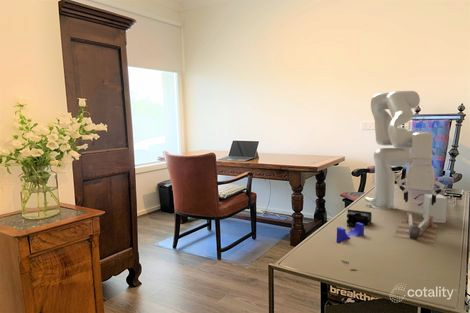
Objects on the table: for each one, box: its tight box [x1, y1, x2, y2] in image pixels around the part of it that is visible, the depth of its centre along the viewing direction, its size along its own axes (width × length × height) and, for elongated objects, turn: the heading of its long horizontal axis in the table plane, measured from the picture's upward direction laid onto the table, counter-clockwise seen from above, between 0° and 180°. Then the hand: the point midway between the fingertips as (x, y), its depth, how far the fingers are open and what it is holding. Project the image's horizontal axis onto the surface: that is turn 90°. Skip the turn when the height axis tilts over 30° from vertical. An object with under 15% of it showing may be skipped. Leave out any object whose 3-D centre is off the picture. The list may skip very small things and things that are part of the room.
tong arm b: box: [418, 215, 434, 236], centre depth 140 cm, size 19×2×4 cm, turn 138°
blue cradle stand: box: [336, 222, 365, 244], centre depth 136 cm, size 12×4×6 cm, turn 118°
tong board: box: [393, 218, 439, 244], centre depth 140 cm, size 24×14×6 cm, turn 146°
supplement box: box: [422, 193, 448, 223], centre depth 153 cm, size 7×7×13 cm
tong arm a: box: [406, 212, 413, 234], centre depth 143 cm, size 19×2×4 cm, turn 154°
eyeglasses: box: [413, 193, 457, 208], centre depth 184 cm, size 16×19×5 cm
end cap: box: [346, 208, 373, 229], centre depth 152 cm, size 10×7×7 cm
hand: (419, 203), depth 140 cm, fingers open, 9 cm apart
